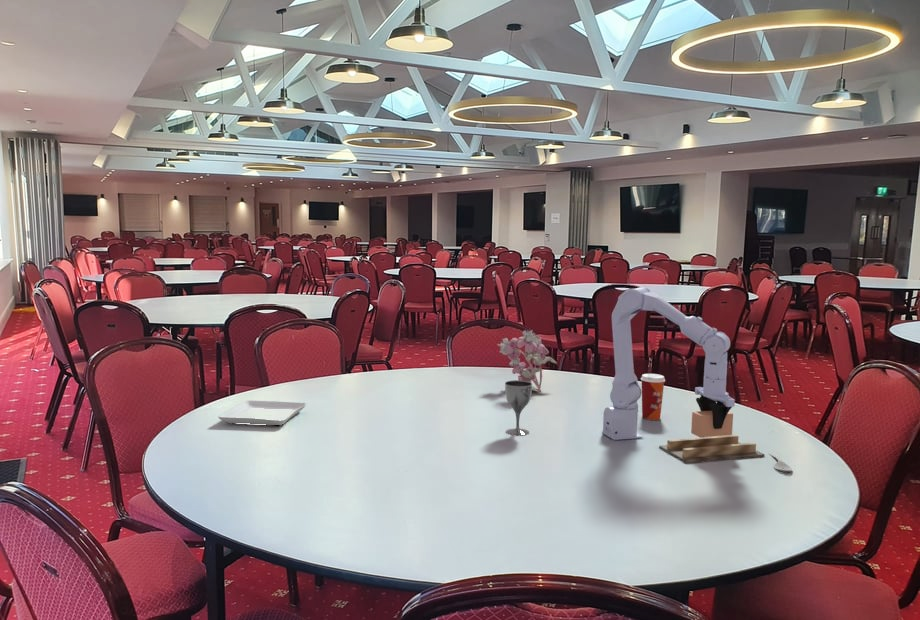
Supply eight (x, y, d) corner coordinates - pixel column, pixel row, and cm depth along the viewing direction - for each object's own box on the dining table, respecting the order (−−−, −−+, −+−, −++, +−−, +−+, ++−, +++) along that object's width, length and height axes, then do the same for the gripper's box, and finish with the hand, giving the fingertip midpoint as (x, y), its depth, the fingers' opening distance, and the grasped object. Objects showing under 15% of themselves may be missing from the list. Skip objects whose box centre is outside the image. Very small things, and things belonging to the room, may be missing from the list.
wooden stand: (686, 463, 170) (687, 453, 169) (659, 447, 182) (659, 437, 182) (764, 456, 176) (765, 446, 175) (732, 441, 188) (733, 432, 188)
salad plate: (307, 411, 217) (307, 401, 216) (284, 430, 196) (284, 419, 195) (246, 409, 219) (246, 399, 218) (217, 427, 198) (216, 416, 197)
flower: (575, 383, 252) (553, 324, 257) (551, 389, 233) (528, 324, 238) (531, 399, 262) (511, 341, 267) (505, 406, 243) (484, 343, 248)
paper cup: (658, 422, 207) (660, 379, 205) (635, 418, 211) (637, 376, 210) (667, 417, 213) (669, 375, 211) (644, 413, 217) (646, 372, 216)
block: (722, 430, 181) (723, 409, 181) (732, 434, 177) (733, 413, 177) (691, 433, 179) (692, 411, 178) (700, 437, 175) (701, 415, 174)
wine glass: (499, 433, 193) (500, 384, 192) (510, 426, 200) (511, 379, 199) (524, 437, 190) (525, 387, 188) (534, 430, 197) (535, 382, 195)
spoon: (777, 475, 163) (777, 468, 163) (761, 449, 183) (761, 443, 183) (795, 477, 162) (795, 470, 162) (777, 450, 182) (777, 445, 182)
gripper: (745, 382, 170) (742, 432, 172) (711, 371, 184) (708, 417, 186) (722, 383, 169) (719, 434, 170) (689, 372, 183) (687, 419, 184)
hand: (712, 426), depth 178 cm, fingers closed on block, 4 cm apart
